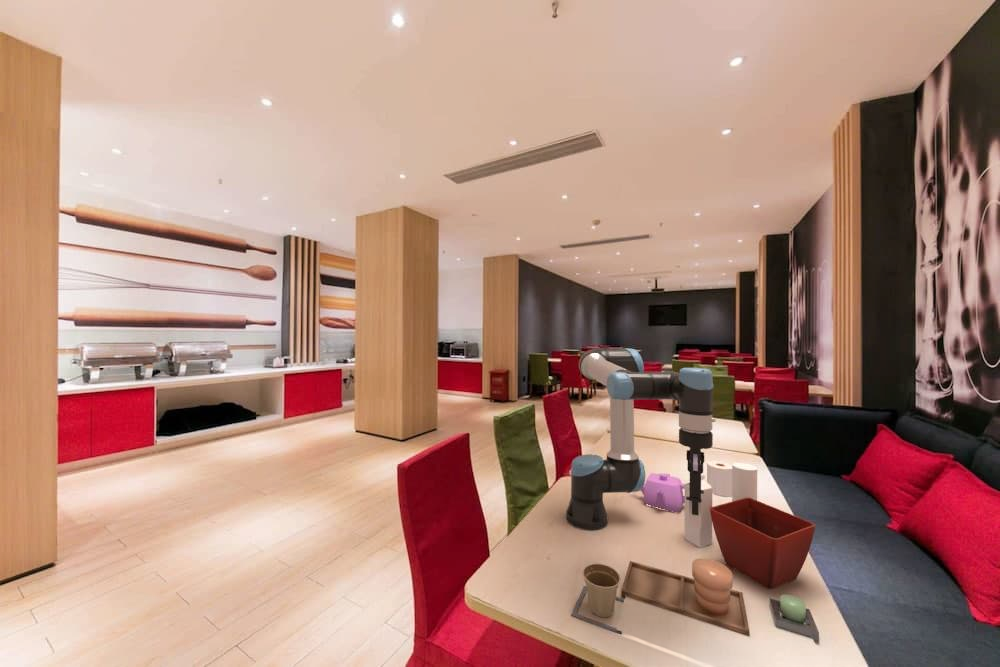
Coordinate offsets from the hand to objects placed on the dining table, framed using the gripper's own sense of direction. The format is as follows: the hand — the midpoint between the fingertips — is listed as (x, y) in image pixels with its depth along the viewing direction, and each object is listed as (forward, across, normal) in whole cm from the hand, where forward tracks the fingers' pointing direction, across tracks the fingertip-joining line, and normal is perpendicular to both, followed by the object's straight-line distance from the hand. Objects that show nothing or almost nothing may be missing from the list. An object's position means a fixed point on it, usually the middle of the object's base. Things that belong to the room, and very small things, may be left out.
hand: (694, 522), depth 93 cm
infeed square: (+23, -10, +21) cm, 32 cm away
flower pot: (+23, -10, +21) cm, 33 cm away
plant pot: (+23, +27, -17) cm, 39 cm away
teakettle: (+23, +61, +12) cm, 66 cm away
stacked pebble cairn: (+22, +4, -4) cm, 22 cm away
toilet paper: (+23, +87, -10) cm, 90 cm away
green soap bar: (+20, +7, -21) cm, 30 cm away
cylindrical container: (+23, +46, -15) cm, 53 cm away
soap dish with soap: (+23, +7, -21) cm, 32 cm away
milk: (+23, +37, -1) cm, 43 cm away
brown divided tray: (+23, +4, +3) cm, 23 cm away
